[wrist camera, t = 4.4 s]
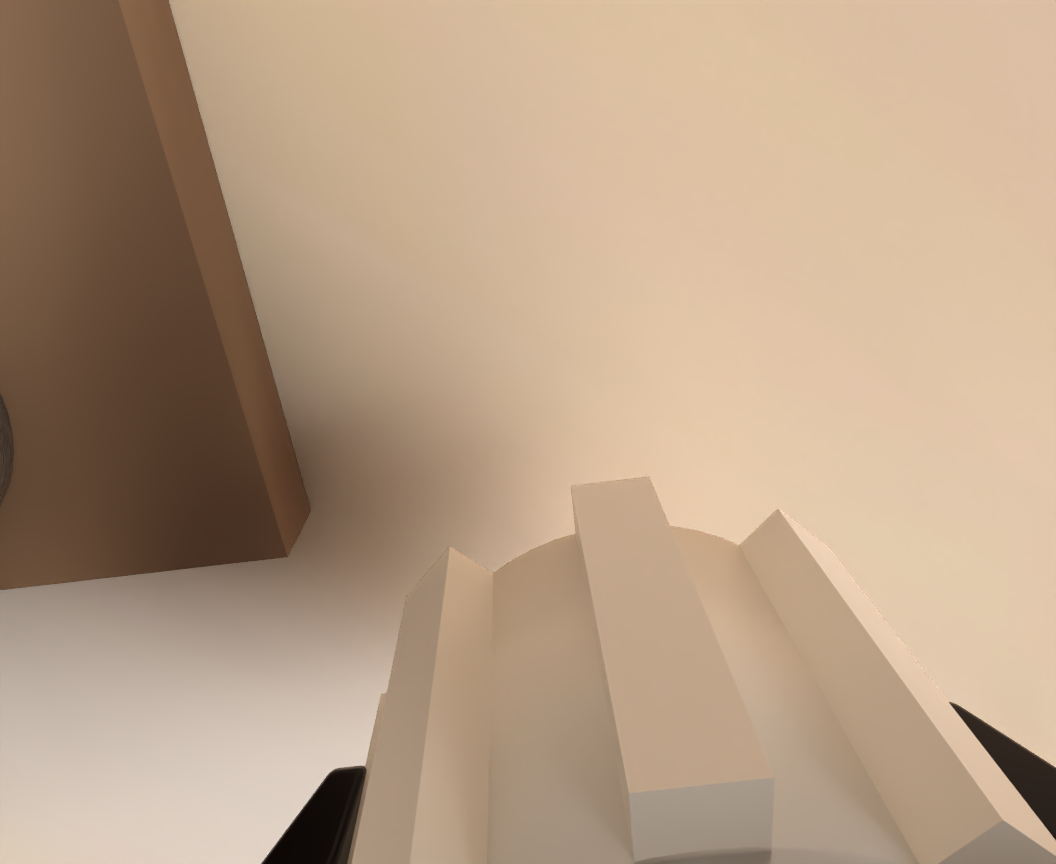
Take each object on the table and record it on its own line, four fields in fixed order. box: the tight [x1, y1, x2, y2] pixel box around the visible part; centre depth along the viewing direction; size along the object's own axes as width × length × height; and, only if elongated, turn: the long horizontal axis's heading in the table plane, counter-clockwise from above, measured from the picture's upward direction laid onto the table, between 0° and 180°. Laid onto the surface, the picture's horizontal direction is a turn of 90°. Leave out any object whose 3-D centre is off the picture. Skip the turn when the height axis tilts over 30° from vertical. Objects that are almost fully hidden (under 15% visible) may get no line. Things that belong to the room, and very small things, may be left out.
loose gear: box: [347, 477, 1056, 864], centre depth 7 cm, size 6×6×4 cm
